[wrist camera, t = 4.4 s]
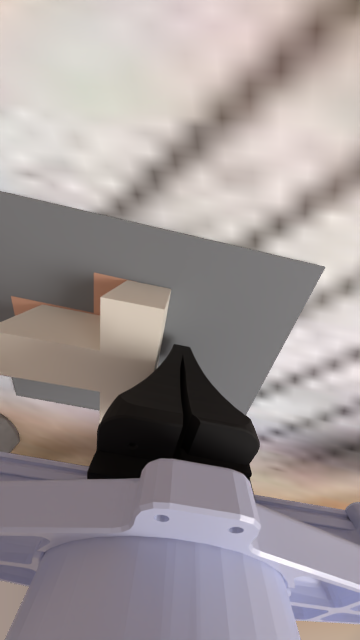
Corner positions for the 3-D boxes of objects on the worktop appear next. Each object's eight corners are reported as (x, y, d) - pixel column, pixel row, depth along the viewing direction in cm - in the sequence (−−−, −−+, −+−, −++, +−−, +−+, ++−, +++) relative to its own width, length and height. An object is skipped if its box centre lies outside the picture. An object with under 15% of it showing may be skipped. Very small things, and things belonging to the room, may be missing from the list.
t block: (154, 386, 15) (143, 431, 12) (51, 368, 15) (7, 409, 11) (171, 288, 12) (164, 309, 8) (36, 261, 11) (-36, 270, 8)
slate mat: (234, 431, 18) (235, 435, 18) (20, 392, 17) (15, 395, 17) (321, 266, 11) (326, 266, 11) (-29, 184, 10) (-39, 182, 10)
